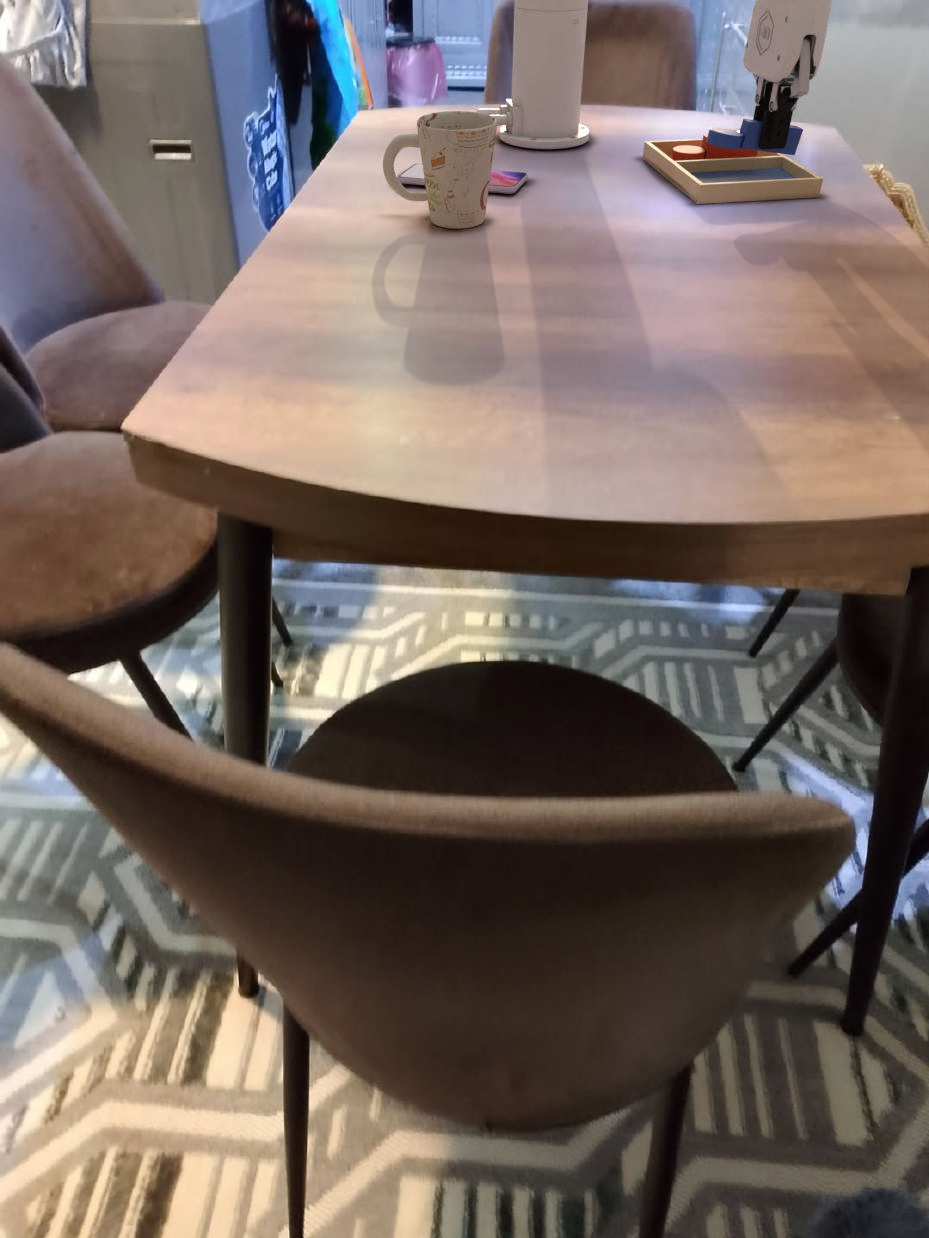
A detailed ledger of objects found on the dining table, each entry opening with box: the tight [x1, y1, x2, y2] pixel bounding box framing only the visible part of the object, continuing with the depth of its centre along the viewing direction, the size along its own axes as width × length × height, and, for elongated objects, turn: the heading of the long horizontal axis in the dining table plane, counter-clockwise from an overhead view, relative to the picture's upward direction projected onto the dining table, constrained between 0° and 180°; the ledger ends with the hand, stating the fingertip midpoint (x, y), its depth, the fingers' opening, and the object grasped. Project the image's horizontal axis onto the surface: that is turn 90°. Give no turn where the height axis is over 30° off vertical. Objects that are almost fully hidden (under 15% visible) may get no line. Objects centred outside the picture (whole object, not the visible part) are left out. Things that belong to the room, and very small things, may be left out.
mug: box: [382, 110, 498, 230], centre depth 98 cm, size 8×13×10 cm, turn 78°
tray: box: [642, 138, 824, 205], centre depth 113 cm, size 15×20×2 cm
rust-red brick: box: [672, 134, 758, 161], centre depth 116 cm, size 11×4×3 cm, turn 100°
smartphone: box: [396, 163, 529, 195], centre depth 111 cm, size 7×1×15 cm
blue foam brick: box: [706, 118, 804, 156], centre depth 106 cm, size 11×4×3 cm, turn 100°
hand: (767, 144), depth 107 cm, fingers closed on blue foam brick
